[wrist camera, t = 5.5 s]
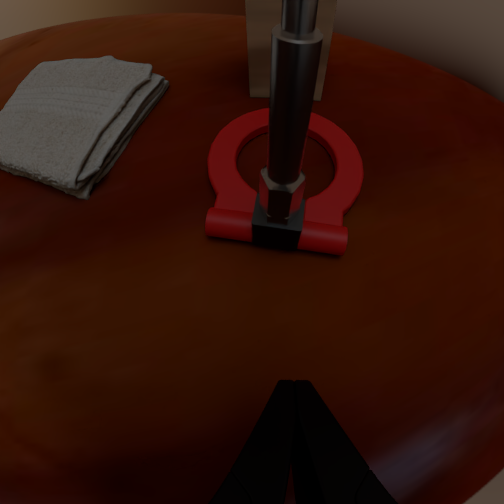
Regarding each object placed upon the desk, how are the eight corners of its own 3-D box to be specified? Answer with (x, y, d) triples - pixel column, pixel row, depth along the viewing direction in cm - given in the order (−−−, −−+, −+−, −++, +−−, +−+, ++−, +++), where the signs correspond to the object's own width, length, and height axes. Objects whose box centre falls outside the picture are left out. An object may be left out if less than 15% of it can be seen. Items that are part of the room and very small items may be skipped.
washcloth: (98, 209, 18) (76, 184, 16) (-23, 167, 21) (-40, 151, 18) (179, 84, 22) (171, 55, 19) (43, 79, 25) (31, 60, 22)
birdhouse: (323, 102, 20) (346, -31, 10) (196, 99, 21) (170, -32, 11) (317, 61, 22) (331, -51, 12) (208, 59, 23) (191, -52, 13)
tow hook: (227, 113, 21) (189, 240, 17) (210, -78, 8) (92, -24, 4) (356, 131, 20) (357, 265, 16) (407, -55, 7) (507, 25, 4)
